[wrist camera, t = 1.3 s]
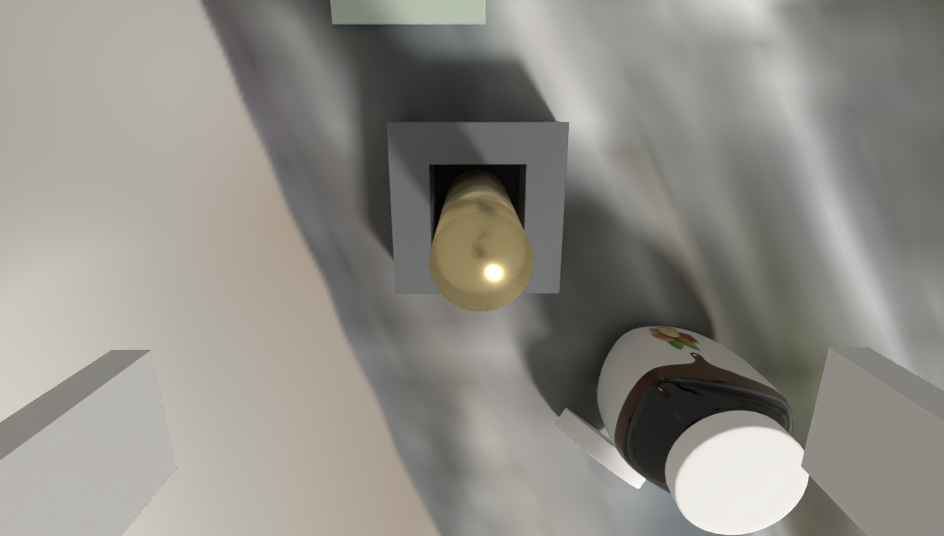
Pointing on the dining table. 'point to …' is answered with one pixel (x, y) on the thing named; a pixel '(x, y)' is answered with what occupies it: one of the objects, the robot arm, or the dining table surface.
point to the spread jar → (695, 429)
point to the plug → (480, 245)
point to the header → (476, 143)
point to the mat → (408, 12)
